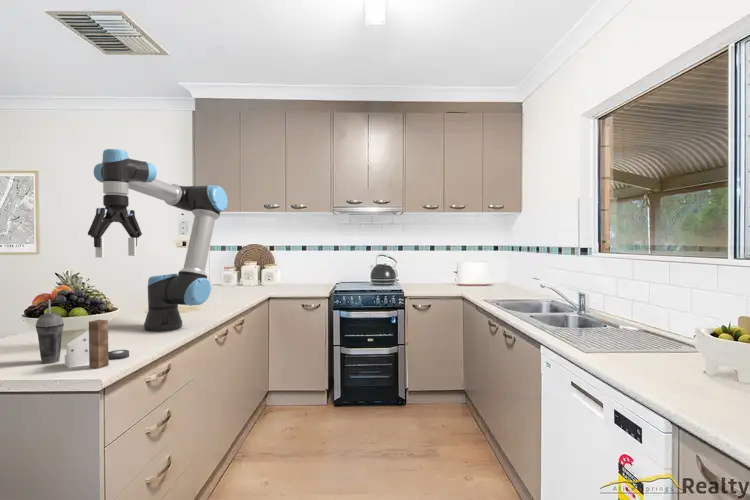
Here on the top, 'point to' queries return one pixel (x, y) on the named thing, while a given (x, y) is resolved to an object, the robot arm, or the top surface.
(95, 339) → the walnut post
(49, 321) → the beverage cup
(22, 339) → the top surface
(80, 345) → the white angled block
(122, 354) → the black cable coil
